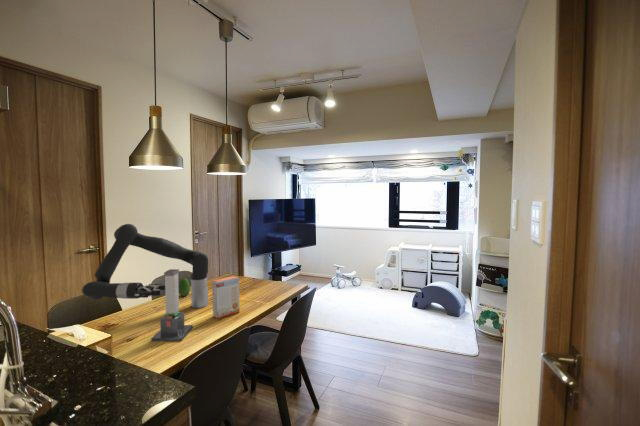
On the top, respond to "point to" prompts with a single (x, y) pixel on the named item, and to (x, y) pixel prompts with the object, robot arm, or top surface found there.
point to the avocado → (184, 287)
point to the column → (172, 292)
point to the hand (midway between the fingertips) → (164, 290)
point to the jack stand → (172, 328)
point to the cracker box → (225, 296)
